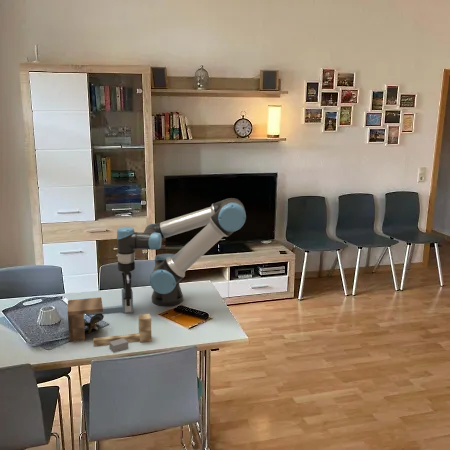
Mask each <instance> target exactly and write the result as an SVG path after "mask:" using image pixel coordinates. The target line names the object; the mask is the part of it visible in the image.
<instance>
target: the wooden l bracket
mask: <svg viewBox="0 0 450 450" xmlns="http://www.w3.org/2000/svg"><path fill="white" fill-rule="evenodd" d="M103 307H104V306H103V301H102V297H101V296H100V297H92V298H91V297H89V298H78V299H67V320H68V322H67V323H68V324H67V325H68V336H69V337H68V339H69V343H73V342H74V343H75V342H82V341H86V336H85V335H86V334H85V333H86V332H85V330H86V329H85V326H84V314H88V313H99V312H103Z"/></svg>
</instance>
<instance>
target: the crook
mask: <svg viewBox="0 0 450 450" xmlns="http://www.w3.org/2000/svg"><path fill="white" fill-rule="evenodd" d="M133 294H134V292H133V289H132V287H131V312H125V299H124V298H125V289H123V288H121V305H113V306H110V305H109V306H103V312H99V313H101V314H103V315H106V314H107V315H108V314H116V313H117V314H118V313H123V314H127V313H129V314H130V313H133V312H134V301H133V300H134V298H133V297H134V296H133ZM99 313H88V314H87V315H88V316H94V315H96V314H99ZM86 317H87V316H86V315H85V314H84V322H85V321H86V322H87V318H86Z"/></svg>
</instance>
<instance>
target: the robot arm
mask: <svg viewBox="0 0 450 450" xmlns="http://www.w3.org/2000/svg"><path fill="white" fill-rule="evenodd" d="M246 213H247V212H246V209H245V206H244V204H243V202H241V200H239V199H238V198H234V197H233V198H232V197H230V198H225V199H223V200H220V201H217V202H214V203H212V204H211V206H209V207H205V208H203V209H199V210H196V211H193V212H190V213H186V214H183V215H181V216H177V217H174V218H171V219H167V220H165V221H162V222H158V223H150V224H148V225H147V226H146V227H145V229H144V230H143V232H137V231H135V229H134V227H131V226H122V227H118V229H117V230H116V245H117V246H116V247H117V248H116V250H117V252H116V253H117V254H116V255H115V256H116V257H117V270H118V271H119V272H121V277H122V289H125V298H124V299H125V312H131V288H132V272H133V271H134V270H135V269H136V266H135V265H136V264H135V263H136V262H135V260H136V256H135V255H136V254H135V250H147V251H149V250H150V251H153V250H154V251H155V250H160V249H161V248H162V241H163V239H166V238H170V237H172V236H175V235H178V234H182V233H185V232H189V231H192V230H194V229H198V228H201V227H203V228H202V229H201V230H200V231H199V232H198V233H196V235H194V237H193V238H192V239H190V241H188V242H187V243H185V245H184V246H183V247H182V248H180V250H179V251H177V253H175V254H174V253H161V254H160V253H159V254H157V255H155V257H154V267H153V270H152V272H151V274H150V277H149V284H150V288H151V289H152V290H153V292H152V295H151V302H152V303H153V304H155V305H156V306H160V307H173V306H177V305H180V304H181V303H182V302H183V301H184V294H183V291H182V289H181V285H180V282H181V280H183V279H184V277H186V271H187V270H188V269H190V268H191V267H192V266H193V265H194V264H195V263H196V262H197V261H199V259H201V258H202V257H203V256H204V255H205V254H206V253H207V252H208V251H209V250H211V248H213V247H214V246H215V244H217V243H218V242H219V241H220V240H221V239H223V238H224V237H226V238H227V237H230V236H231V235H232V234H233V233H234V232H236V231H238V230H241V228H242V227H244V224H245V223H246V220H247V215H246ZM131 313H132V312H131Z"/></svg>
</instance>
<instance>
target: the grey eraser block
mask: <svg viewBox="0 0 450 450" xmlns="http://www.w3.org/2000/svg"><path fill="white" fill-rule="evenodd" d="M109 349H110V350H111V351H112V352H113V353H118V352H120V351H123V350H128V349H129V342H128V341H127V340H125V339H124V338H121V339H118V340H114V341H111V342H109Z"/></svg>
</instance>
